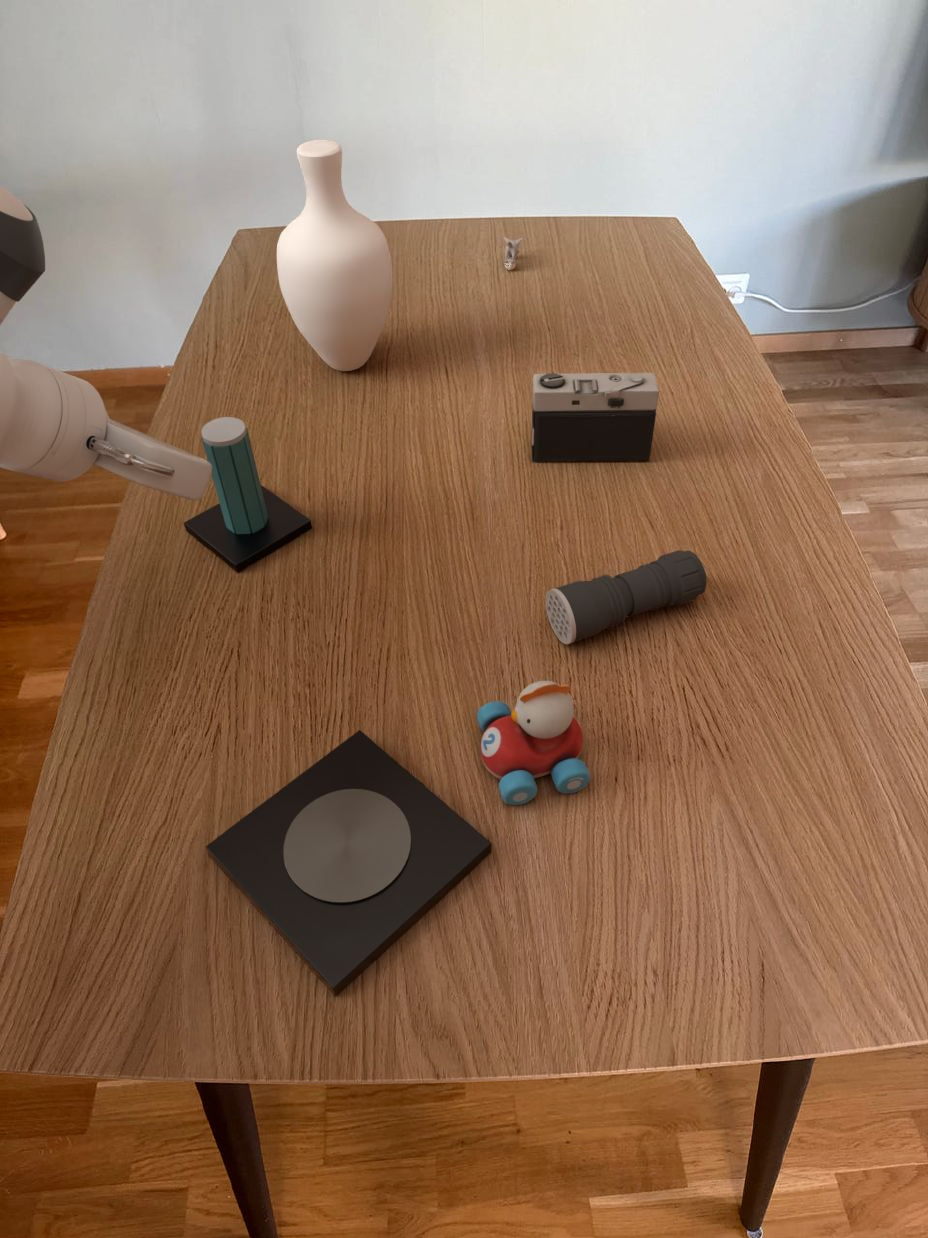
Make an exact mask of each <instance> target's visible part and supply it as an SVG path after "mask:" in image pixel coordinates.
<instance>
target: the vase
mask: <svg viewBox="0 0 928 1238" xmlns="http://www.w3.org/2000/svg"><path fill="white" fill-rule="evenodd" d="M296 158H297V161H298V163H299V167H300V170H301V173H302V177H303V180H304V184H305V192H306V196H305V197H306V198H305V204H304V208H303V210H302V211H301V213H300V214H299V215H298V216H297V217H296V218H294V219H293V220H292V221H291V222H290V223H288V225H287V226H286V227H285V228H284V229H283V230H282V231H281V232H280V234H279V237H278V241H277V245H276V267H277V278H278V283H279V289H280V291H281V294H282V297H283V300H284V303H285V305H286V308H287V311H288V313H289V315H290V317H291V318H292V320H293V322H294V324H295V326H296V328H297V329H298V331H299V332H300V335H302V336H303V338H304V339H305V341H306V342H307V343H308V344H309V345H310V346H311V348H312V349H313V350H314V352H316V353H317V355H318V356H319V357H320V358H321V360H322V361H323V362H324V363H325V364H326V365H327V366H329V367H330V368H332V369H334V370H336V371H341V372H352V371H355V370H358V369H361V367H363V366H364V365H366V363H367V362H368V360H369V358H370V357H371V356H372V353H373V351H374V349H375V347H376V345H377V343H378V341H379V338H380V337H381V334H382V332H383V329H384V327H385V325H386V322H387V319H388V316H389V311H390V307H391V299H392V292H393V283H394V280H393V279H394V278H393V277H394V274H393V264H392V257H391V253H390V248H389V243H388V241H387V238H386V236H385V234H384V232H383V231H382V229H381V227H380V226H379V225H378V224H377V223H376V222H374V221H373V220H371V219H370V218H369V217H367V216H366V215H364V214H363V213H361V212H359V211H358V210H356V209H355V208H354V207H352V206H351V205H350V204H349V202H348V200H347V198H346V195H345V192H344V189H343V181H342V166H343V165H342V164H343V150H342V145H341V144H339V143H338V142H337V141H335V140H330V139H314V140H309V141H305V142H303V143H301V144H299V145H298V147H297V149H296Z"/></svg>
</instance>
